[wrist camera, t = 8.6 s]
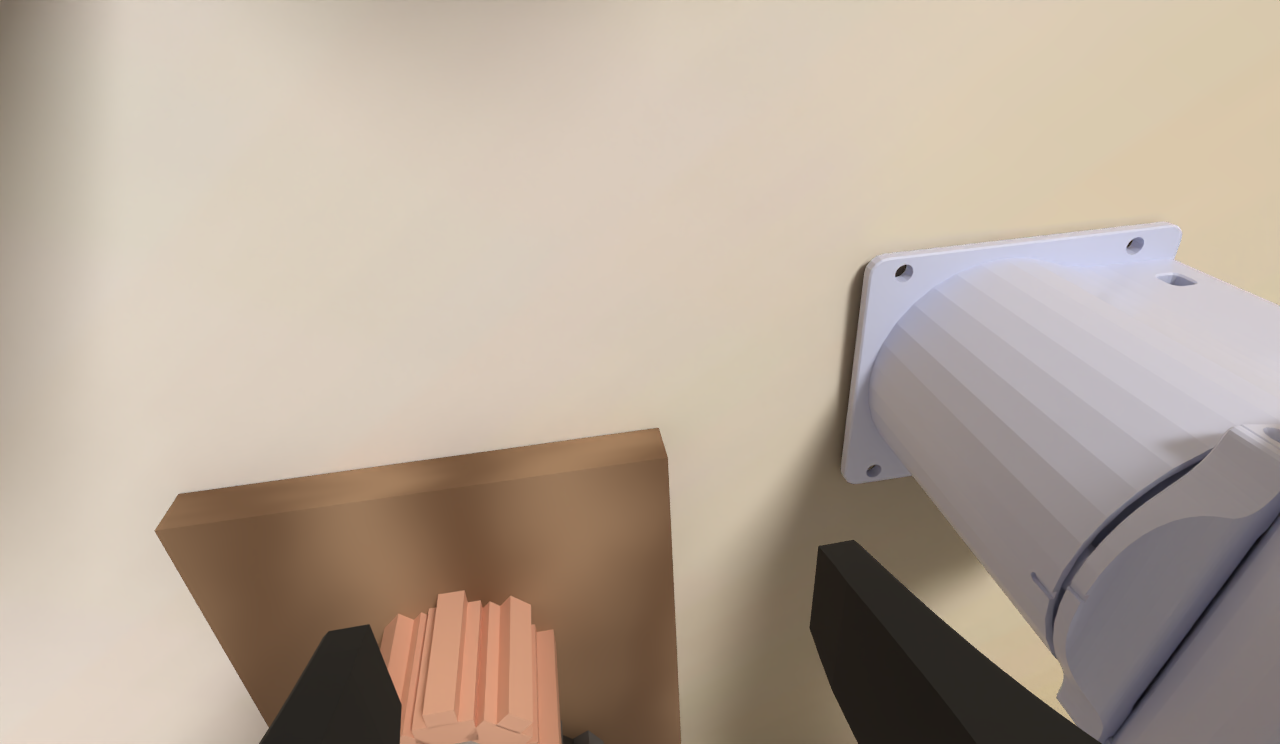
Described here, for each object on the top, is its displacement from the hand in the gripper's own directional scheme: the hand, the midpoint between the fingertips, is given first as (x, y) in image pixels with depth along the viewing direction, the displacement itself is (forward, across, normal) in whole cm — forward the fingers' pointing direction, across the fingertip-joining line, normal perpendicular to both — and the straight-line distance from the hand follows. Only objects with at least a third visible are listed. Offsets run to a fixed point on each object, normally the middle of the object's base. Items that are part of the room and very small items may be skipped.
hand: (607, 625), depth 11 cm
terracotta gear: (+8, +4, +10) cm, 14 cm away
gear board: (+9, +4, +14) cm, 18 cm away
